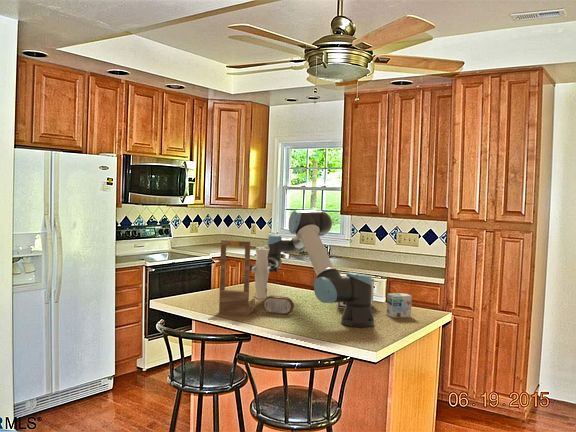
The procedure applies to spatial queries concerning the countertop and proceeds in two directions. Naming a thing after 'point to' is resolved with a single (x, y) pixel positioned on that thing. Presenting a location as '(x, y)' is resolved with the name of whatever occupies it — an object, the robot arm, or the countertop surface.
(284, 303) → the tin
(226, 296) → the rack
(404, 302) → the light bulb box
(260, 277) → the skyscraper
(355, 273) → the robot arm
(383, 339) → the countertop surface
